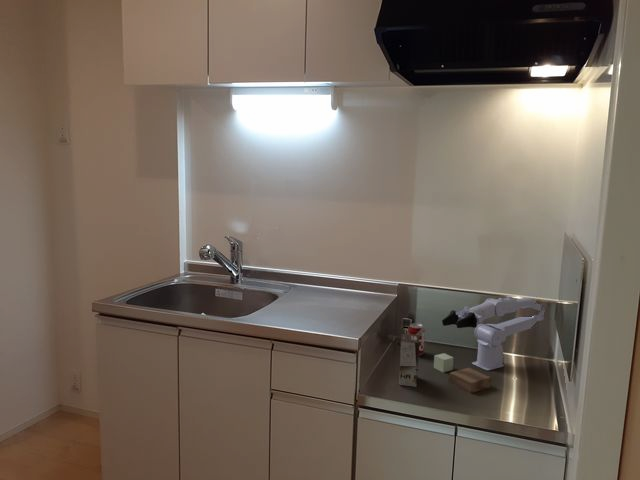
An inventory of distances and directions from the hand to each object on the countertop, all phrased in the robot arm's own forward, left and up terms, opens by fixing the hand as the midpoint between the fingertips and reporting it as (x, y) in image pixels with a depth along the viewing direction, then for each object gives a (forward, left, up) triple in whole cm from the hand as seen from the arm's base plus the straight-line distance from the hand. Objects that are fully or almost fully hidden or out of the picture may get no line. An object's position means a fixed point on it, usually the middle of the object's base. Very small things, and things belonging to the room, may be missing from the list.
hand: (449, 324), depth 191 cm
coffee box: (+16, -3, -20) cm, 26 cm away
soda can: (-4, -22, -20) cm, 30 cm away
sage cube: (-3, -5, -20) cm, 20 cm away
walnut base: (-1, +10, -20) cm, 22 cm away
